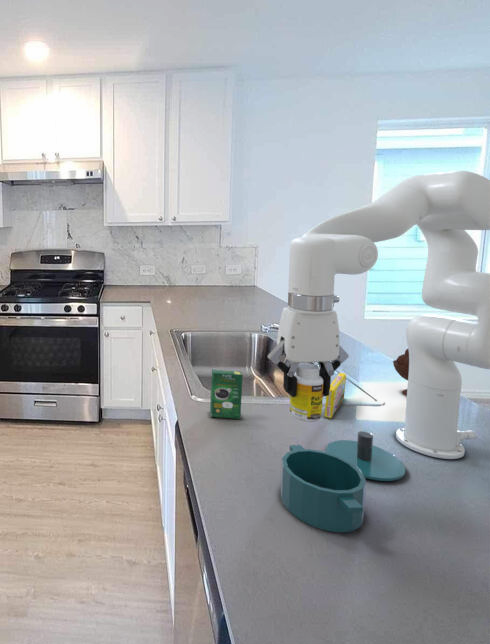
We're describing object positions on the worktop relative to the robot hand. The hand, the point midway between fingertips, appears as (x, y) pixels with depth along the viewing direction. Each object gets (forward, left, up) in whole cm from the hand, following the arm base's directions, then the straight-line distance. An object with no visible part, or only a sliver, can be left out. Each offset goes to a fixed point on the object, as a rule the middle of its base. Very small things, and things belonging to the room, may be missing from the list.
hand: (306, 392), depth 79 cm
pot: (-2, +4, -21) cm, 21 cm away
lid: (-19, -9, -21) cm, 30 cm away
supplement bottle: (0, 0, -5) cm, 5 cm away
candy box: (-30, -35, -21) cm, 51 cm away
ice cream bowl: (-59, -42, -21) cm, 75 cm away
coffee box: (+3, -32, -21) cm, 39 cm away
